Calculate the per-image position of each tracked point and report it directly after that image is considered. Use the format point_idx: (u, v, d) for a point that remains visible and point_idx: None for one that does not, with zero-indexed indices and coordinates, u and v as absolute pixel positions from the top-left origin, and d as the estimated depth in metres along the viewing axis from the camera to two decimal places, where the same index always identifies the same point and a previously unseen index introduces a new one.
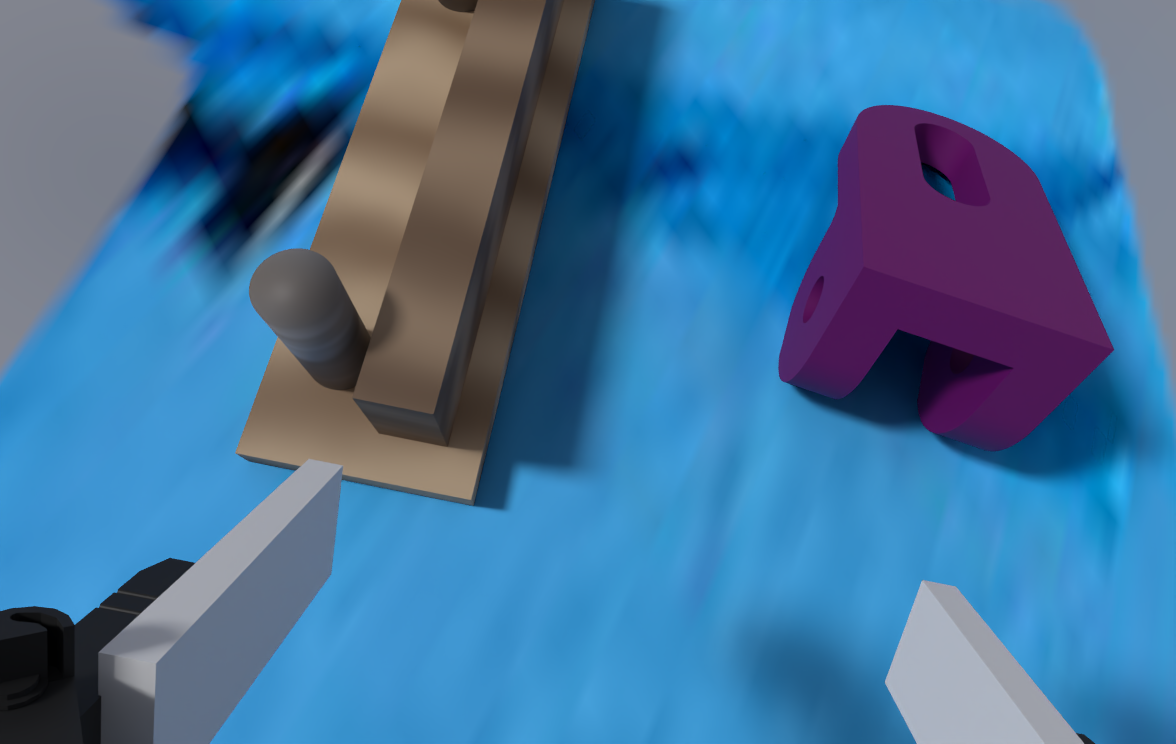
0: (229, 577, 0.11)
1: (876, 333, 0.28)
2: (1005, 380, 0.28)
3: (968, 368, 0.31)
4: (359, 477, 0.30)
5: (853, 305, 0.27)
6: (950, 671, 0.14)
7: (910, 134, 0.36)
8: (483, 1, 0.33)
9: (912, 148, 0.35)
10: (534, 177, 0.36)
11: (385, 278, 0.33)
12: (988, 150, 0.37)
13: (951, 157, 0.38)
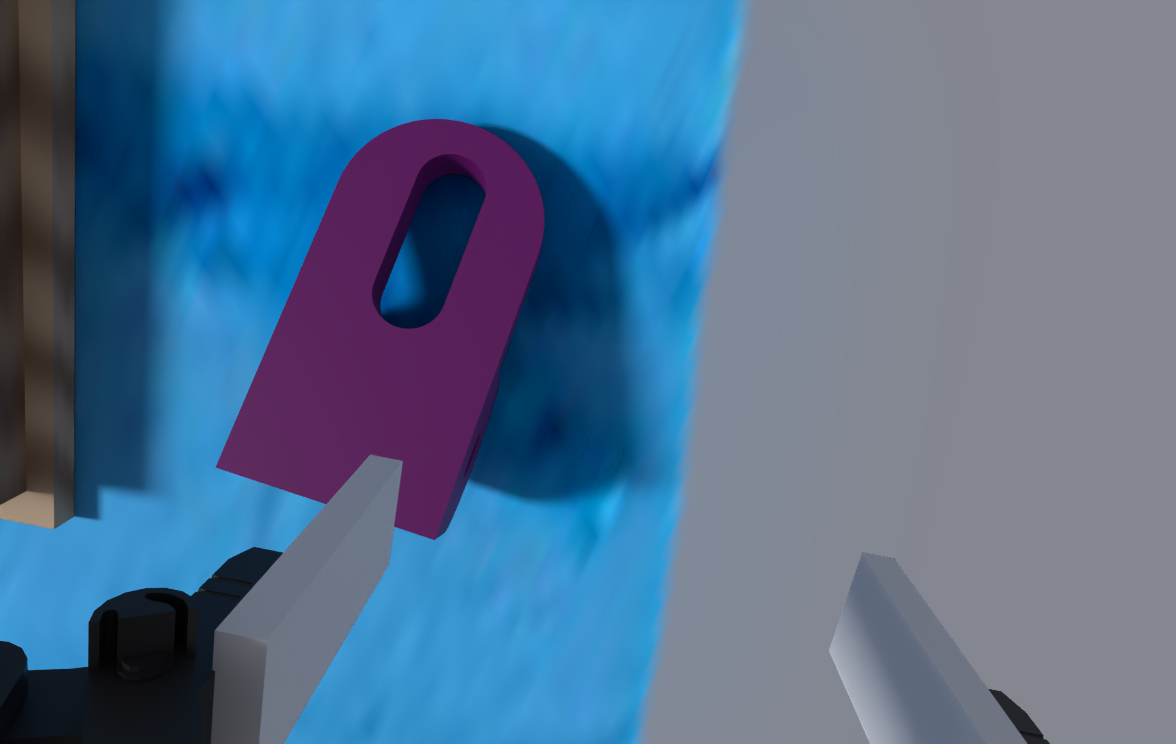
0: (318, 563, 0.12)
1: None
2: None
3: None
4: None
5: None
6: (882, 635, 0.15)
7: (404, 190, 0.32)
8: None
9: (390, 223, 0.32)
10: (37, 234, 0.35)
11: None
12: (503, 198, 0.32)
13: (484, 185, 0.34)
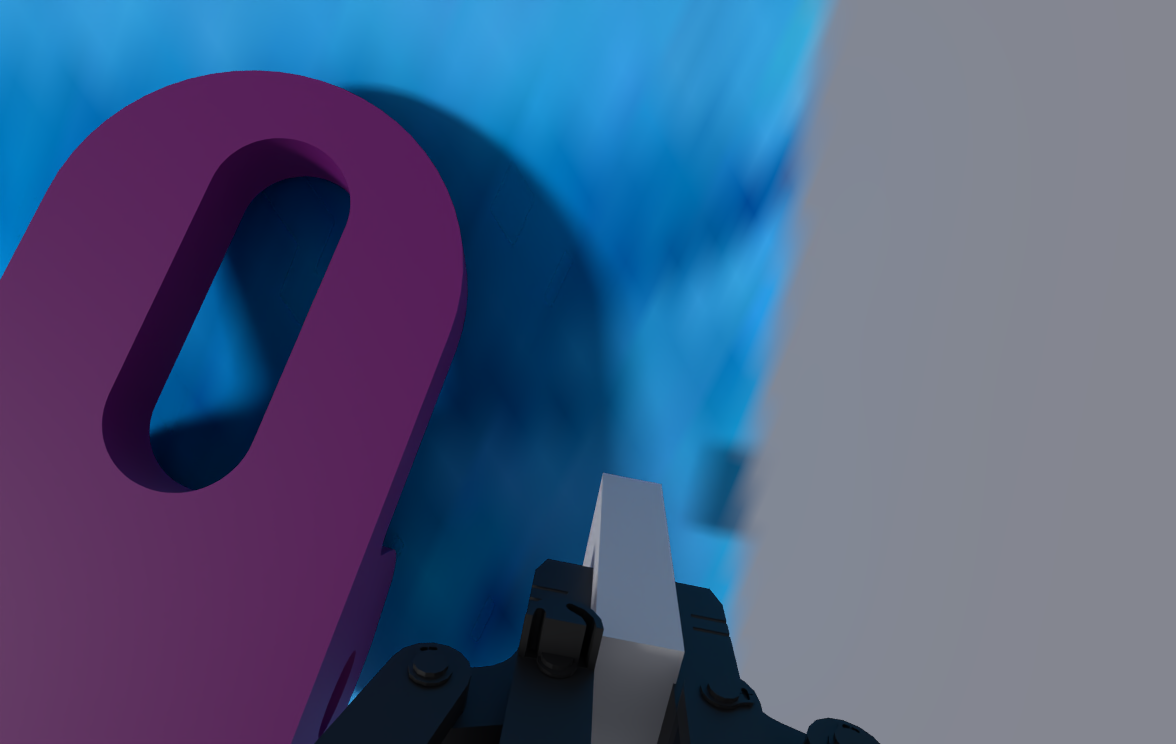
0: (630, 574, 0.14)
1: None
2: None
3: None
4: None
5: None
6: None
7: (183, 208, 0.16)
8: None
9: (150, 274, 0.16)
10: None
11: None
12: (383, 226, 0.17)
13: None
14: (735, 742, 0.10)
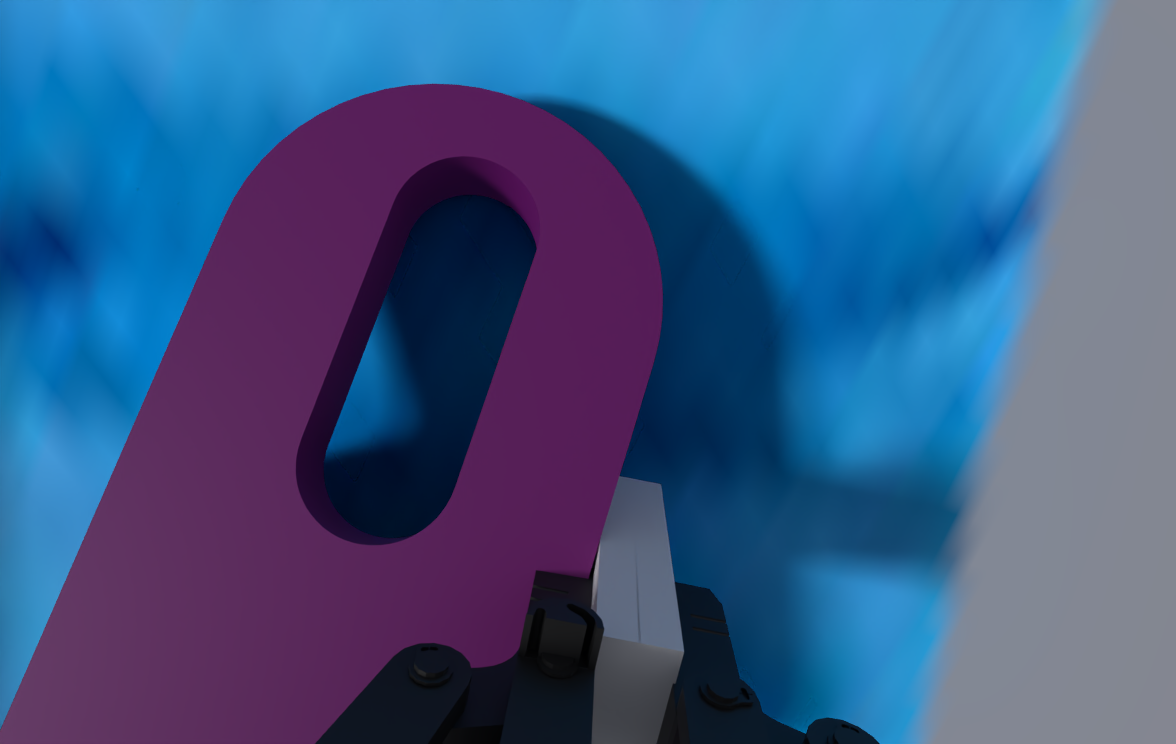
0: (631, 575, 0.14)
1: None
2: None
3: None
4: None
5: None
6: None
7: (366, 235, 0.15)
8: None
9: (336, 308, 0.15)
10: None
11: None
12: (576, 248, 0.15)
13: (532, 219, 0.17)
14: (735, 742, 0.10)
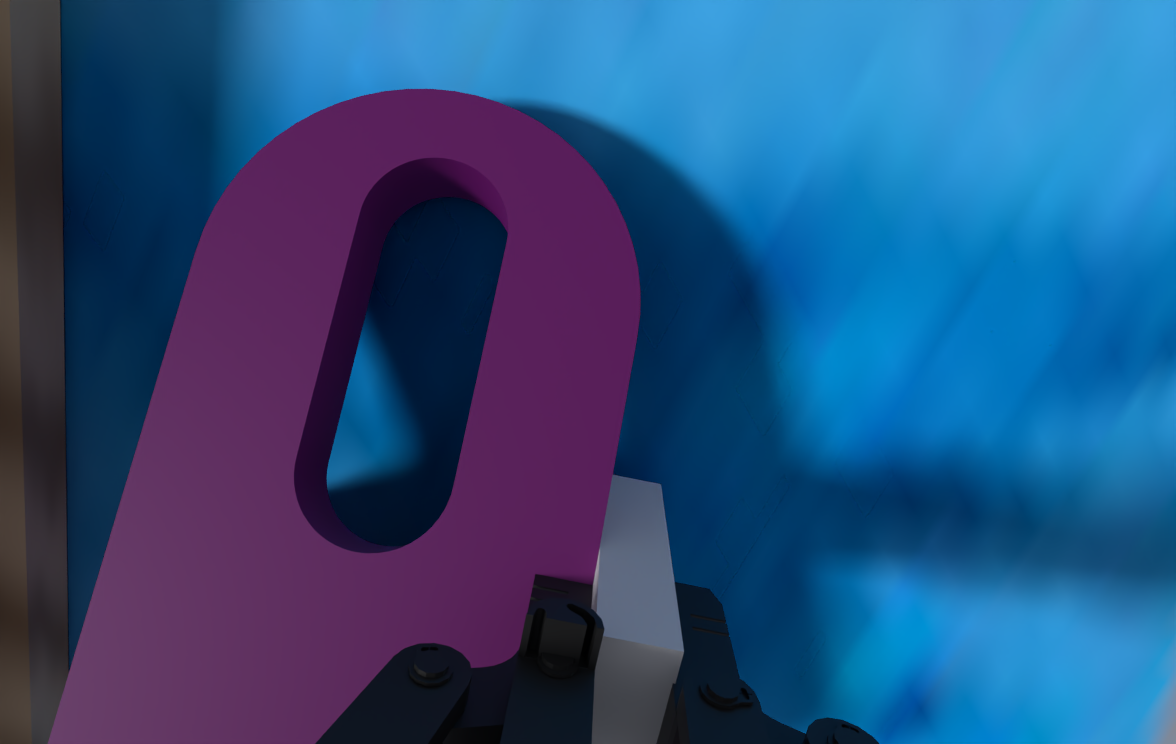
0: (631, 575, 0.14)
1: None
2: None
3: None
4: None
5: None
6: None
7: (336, 248, 0.15)
8: None
9: (315, 324, 0.15)
10: None
11: None
12: (545, 234, 0.15)
13: (501, 212, 0.17)
14: (735, 742, 0.10)
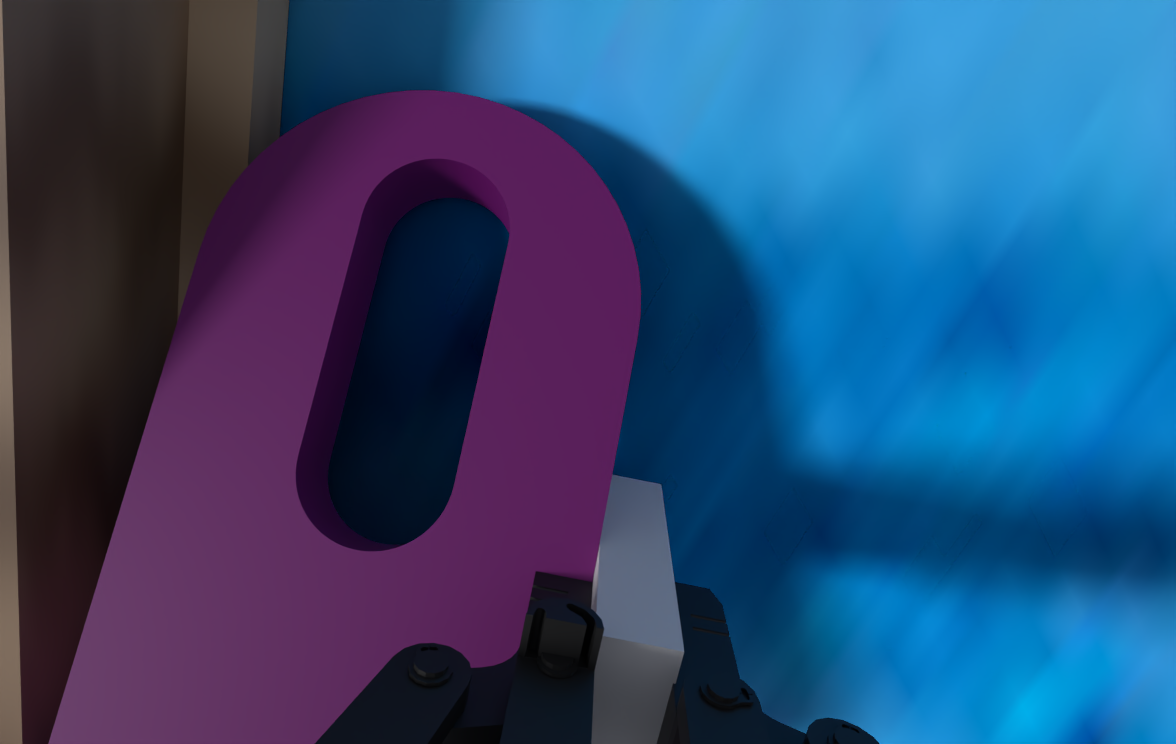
0: (631, 575, 0.14)
1: None
2: None
3: None
4: None
5: None
6: None
7: (339, 248, 0.15)
8: None
9: (318, 323, 0.15)
10: None
11: None
12: (547, 235, 0.15)
13: (503, 213, 0.17)
14: (735, 742, 0.10)
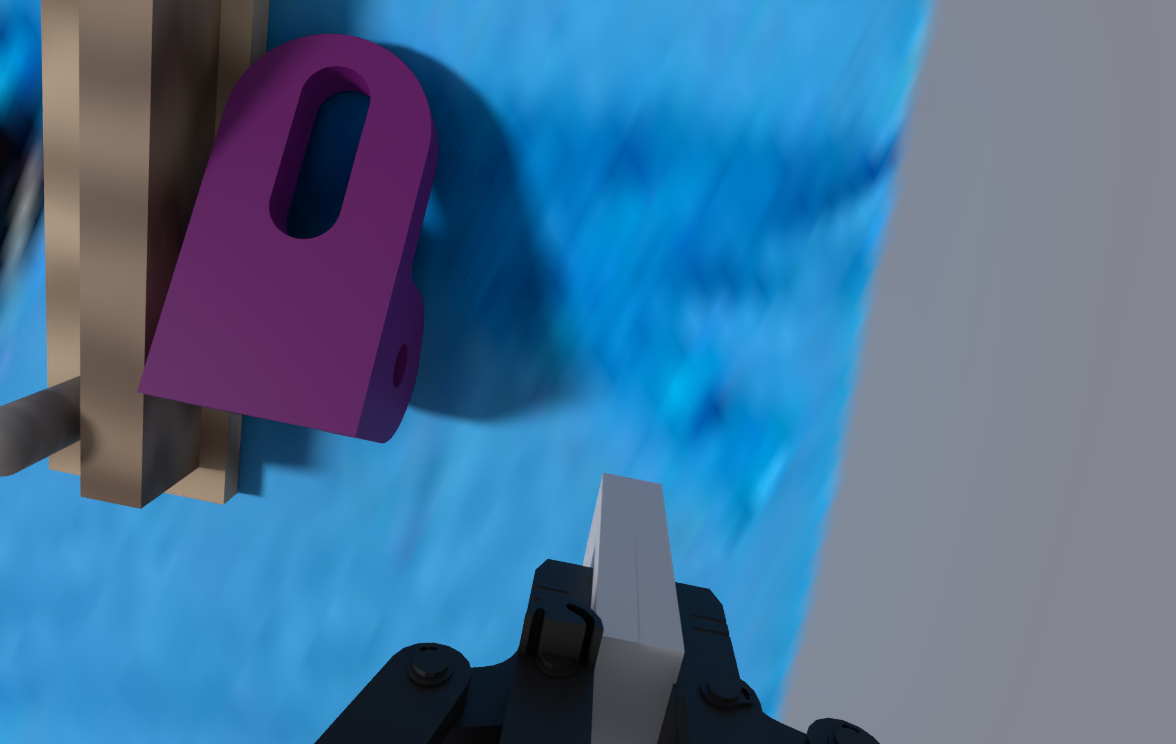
0: (630, 574, 0.14)
1: (207, 407, 0.33)
2: (322, 430, 0.33)
3: None
4: None
5: None
6: None
7: (290, 107, 0.33)
8: (85, 79, 0.30)
9: (279, 140, 0.32)
10: None
11: None
12: (388, 102, 0.33)
13: None
14: (735, 742, 0.10)
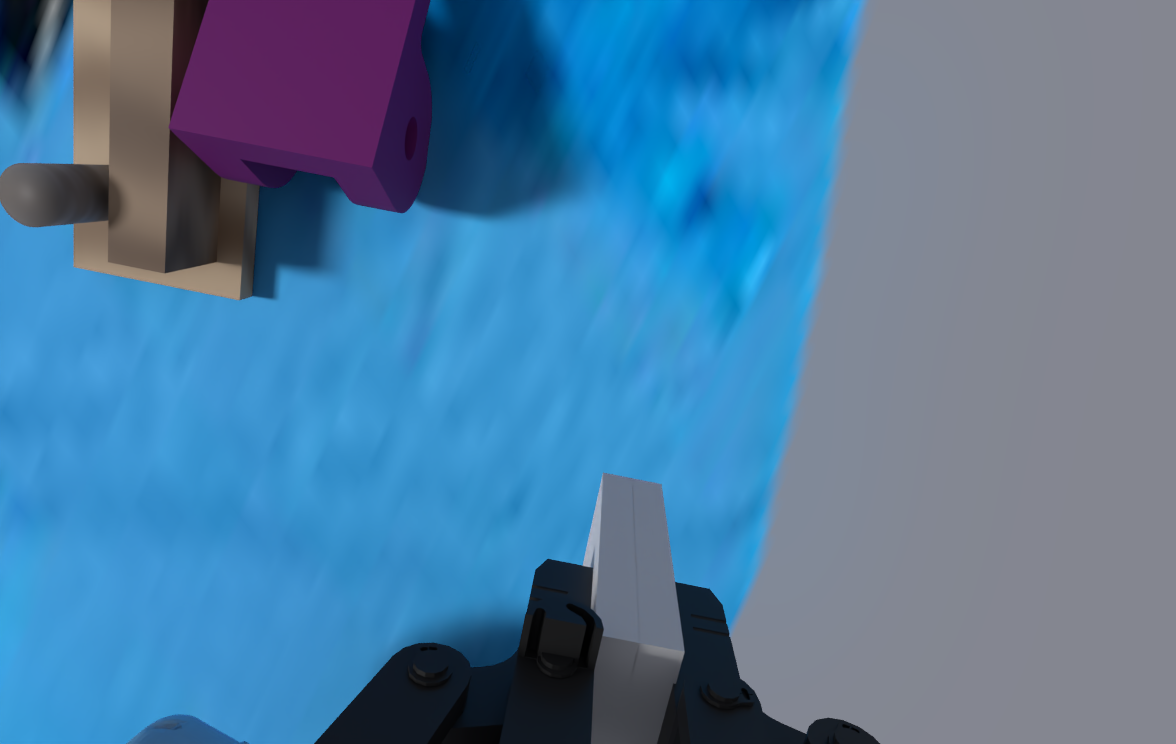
0: (630, 575, 0.14)
1: (232, 161, 0.35)
2: (339, 183, 0.35)
3: None
4: (161, 283, 0.43)
5: (196, 147, 0.34)
6: None
7: None
8: None
9: None
10: None
11: None
12: None
13: None
14: (735, 742, 0.10)
